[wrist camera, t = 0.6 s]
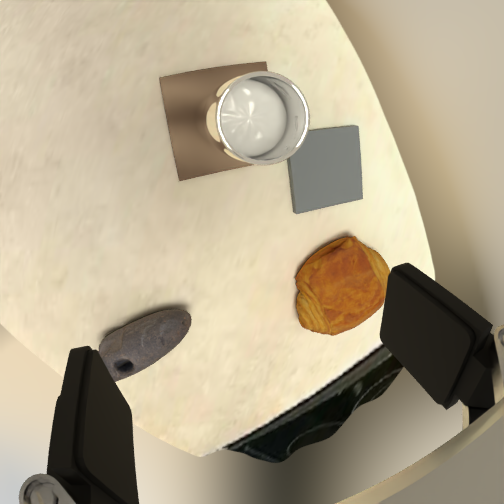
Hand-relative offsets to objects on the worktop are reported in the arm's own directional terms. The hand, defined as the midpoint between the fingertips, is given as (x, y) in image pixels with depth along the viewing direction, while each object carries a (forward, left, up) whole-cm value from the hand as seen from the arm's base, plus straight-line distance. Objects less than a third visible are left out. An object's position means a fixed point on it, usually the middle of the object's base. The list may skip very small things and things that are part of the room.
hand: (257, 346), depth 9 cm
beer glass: (-5, +6, -29) cm, 30 cm away
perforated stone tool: (+19, -10, -29) cm, 36 cm away
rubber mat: (+3, +18, -29) cm, 34 cm away
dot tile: (-5, +6, -29) cm, 30 cm away
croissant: (+20, +19, -29) cm, 40 cm away
